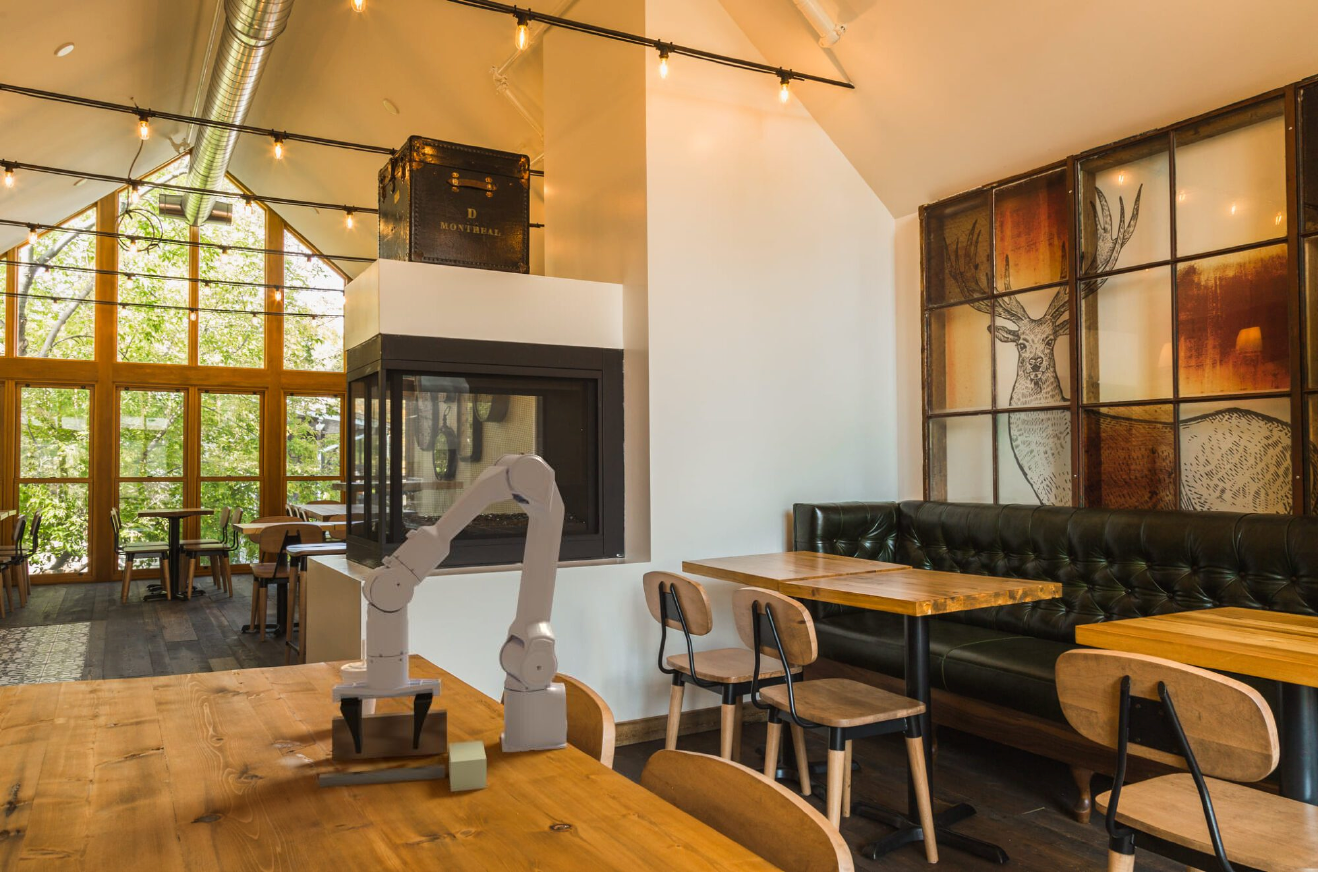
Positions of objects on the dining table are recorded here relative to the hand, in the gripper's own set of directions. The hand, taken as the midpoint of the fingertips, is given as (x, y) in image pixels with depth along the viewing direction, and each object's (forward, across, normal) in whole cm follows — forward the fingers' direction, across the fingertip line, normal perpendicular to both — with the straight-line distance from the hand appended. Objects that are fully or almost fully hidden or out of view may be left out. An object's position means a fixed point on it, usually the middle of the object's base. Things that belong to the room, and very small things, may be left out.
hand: (387, 749), depth 125 cm
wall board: (+2, 0, -4) cm, 5 cm away
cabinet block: (+3, -11, +9) cm, 14 cm away
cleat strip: (+2, 0, +7) cm, 7 cm away
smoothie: (+3, +6, -20) cm, 21 cm away
